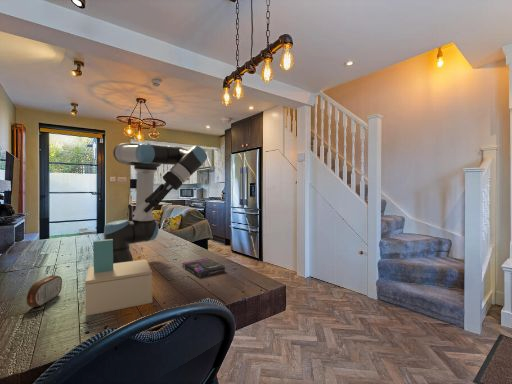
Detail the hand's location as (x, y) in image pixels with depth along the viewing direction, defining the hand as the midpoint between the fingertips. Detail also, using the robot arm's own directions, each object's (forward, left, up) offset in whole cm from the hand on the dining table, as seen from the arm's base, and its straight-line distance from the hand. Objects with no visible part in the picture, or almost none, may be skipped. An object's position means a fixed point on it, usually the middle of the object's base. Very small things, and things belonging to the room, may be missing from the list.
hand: (135, 217), depth 100 cm
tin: (-26, -17, -30) cm, 44 cm away
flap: (-4, -4, -20) cm, 20 cm away
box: (+2, +37, -31) cm, 48 cm away
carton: (-4, -4, -30) cm, 30 cm away
